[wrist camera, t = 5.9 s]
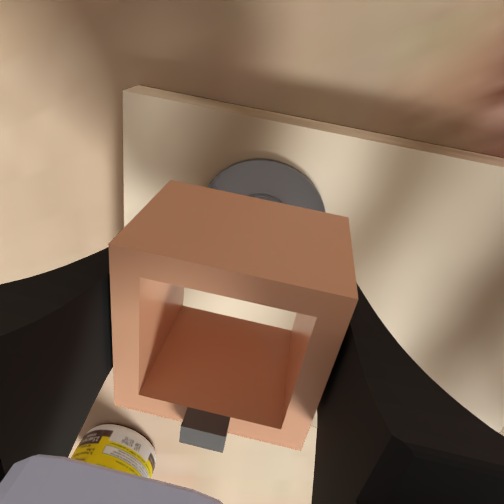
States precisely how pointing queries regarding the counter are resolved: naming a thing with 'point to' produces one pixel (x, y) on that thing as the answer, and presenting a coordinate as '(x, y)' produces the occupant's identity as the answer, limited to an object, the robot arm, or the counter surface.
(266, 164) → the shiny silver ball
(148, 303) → the orange hollow cube
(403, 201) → the beige base plate
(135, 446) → the supplement bottle
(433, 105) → the counter surface
